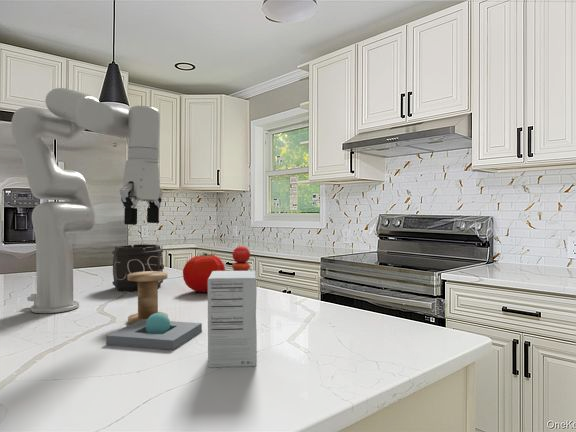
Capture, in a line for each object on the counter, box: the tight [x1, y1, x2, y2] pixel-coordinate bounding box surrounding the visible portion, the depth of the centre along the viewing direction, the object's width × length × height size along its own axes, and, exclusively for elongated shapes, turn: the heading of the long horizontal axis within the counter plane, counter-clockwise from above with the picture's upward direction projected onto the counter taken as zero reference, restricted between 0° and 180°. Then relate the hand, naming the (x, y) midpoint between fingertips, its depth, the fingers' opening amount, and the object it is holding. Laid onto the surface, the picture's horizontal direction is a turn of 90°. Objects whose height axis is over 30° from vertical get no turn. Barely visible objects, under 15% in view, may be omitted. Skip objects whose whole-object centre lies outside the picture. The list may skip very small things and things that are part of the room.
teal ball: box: [145, 312, 171, 334], centre depth 99 cm, size 6×6×6 cm
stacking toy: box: [231, 245, 251, 271], centre depth 125 cm, size 8×8×19 cm
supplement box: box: [207, 270, 258, 368], centre depth 85 cm, size 10×9×17 cm
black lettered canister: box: [111, 243, 165, 293], centre depth 161 cm, size 18×18×16 cm
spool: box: [127, 271, 169, 325], centre depth 114 cm, size 10×10×12 cm
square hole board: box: [105, 319, 203, 351], centre depth 99 cm, size 16×14×2 cm
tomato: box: [182, 252, 226, 293], centre depth 153 cm, size 16×14×14 cm
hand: (142, 223), depth 110 cm, fingers open, 9 cm apart
